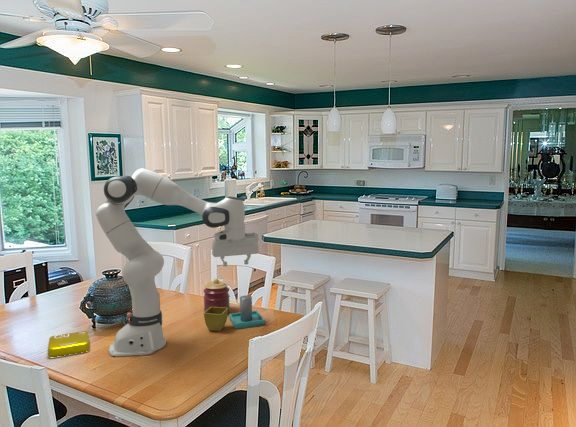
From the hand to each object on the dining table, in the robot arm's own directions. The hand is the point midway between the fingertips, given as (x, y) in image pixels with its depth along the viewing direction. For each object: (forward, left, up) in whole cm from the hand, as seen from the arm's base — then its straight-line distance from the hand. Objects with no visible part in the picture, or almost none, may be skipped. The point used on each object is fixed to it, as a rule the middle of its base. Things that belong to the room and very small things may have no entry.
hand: (235, 265), depth 197 cm
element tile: (-69, +8, -32) cm, 77 cm away
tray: (+7, +12, -31) cm, 34 cm away
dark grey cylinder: (+7, +12, -30) cm, 33 cm away
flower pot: (-8, +8, -31) cm, 33 cm away
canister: (-4, +30, -31) cm, 44 cm away
